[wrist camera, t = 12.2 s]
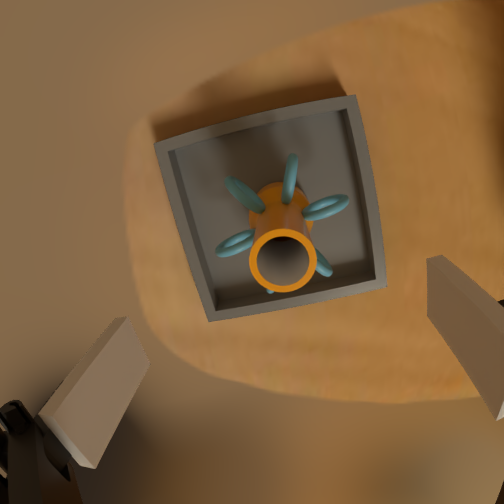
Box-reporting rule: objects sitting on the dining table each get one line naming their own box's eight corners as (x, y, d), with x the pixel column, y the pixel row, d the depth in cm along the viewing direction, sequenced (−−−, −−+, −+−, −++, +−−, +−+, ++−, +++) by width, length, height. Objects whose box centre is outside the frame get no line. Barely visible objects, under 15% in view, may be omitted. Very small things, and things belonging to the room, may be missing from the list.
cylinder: (238, 143, 31) (206, 143, 17) (340, 161, 31) (388, 176, 17) (223, 256, 35) (189, 332, 21) (317, 272, 35) (339, 354, 21)
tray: (348, 98, 29) (355, 94, 27) (379, 276, 35) (387, 286, 32) (163, 143, 32) (153, 143, 30) (213, 309, 38) (208, 322, 36)
